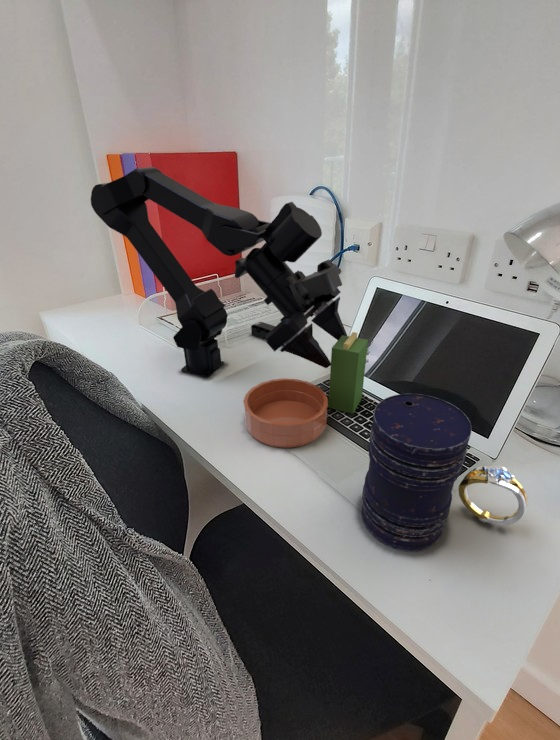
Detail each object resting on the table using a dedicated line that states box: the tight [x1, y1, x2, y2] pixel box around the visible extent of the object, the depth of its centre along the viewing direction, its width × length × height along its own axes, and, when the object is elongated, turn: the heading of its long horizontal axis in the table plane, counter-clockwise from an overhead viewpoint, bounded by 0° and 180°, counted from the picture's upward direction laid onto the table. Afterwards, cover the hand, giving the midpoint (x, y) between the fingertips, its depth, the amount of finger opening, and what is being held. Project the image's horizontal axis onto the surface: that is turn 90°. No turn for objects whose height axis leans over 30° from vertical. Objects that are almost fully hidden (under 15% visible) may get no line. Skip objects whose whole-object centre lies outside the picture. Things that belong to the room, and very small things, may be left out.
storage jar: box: [360, 393, 473, 552], centre depth 46 cm, size 10×10×15 cm
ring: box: [457, 464, 528, 526], centre depth 48 cm, size 7×3×8 cm, turn 47°
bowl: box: [243, 377, 329, 449], centre depth 66 cm, size 13×13×4 cm
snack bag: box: [327, 331, 369, 415], centre depth 69 cm, size 4×5×12 cm
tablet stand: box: [250, 321, 320, 347], centre depth 92 cm, size 18×3×3 cm, turn 49°
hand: (338, 354), depth 68 cm, fingers open, 9 cm apart
